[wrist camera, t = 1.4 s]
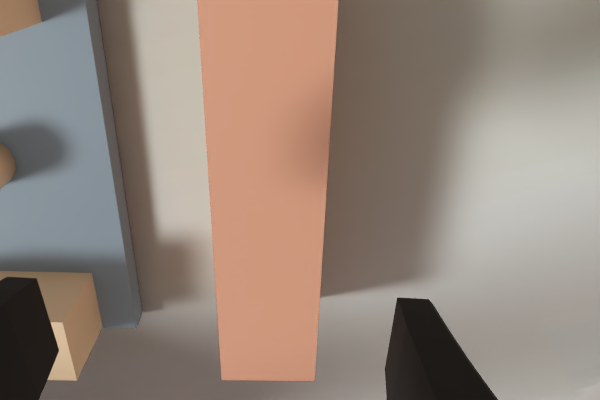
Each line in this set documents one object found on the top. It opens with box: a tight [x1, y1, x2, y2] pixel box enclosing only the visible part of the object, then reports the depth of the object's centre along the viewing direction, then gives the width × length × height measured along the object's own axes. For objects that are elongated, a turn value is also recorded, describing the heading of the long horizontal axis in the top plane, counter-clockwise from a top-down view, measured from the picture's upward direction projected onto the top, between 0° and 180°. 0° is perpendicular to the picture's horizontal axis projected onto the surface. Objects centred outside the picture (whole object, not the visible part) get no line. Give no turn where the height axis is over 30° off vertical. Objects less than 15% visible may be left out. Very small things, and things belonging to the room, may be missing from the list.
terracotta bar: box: [197, 0, 338, 381], centre depth 18 cm, size 14×4×5 cm, turn 178°
